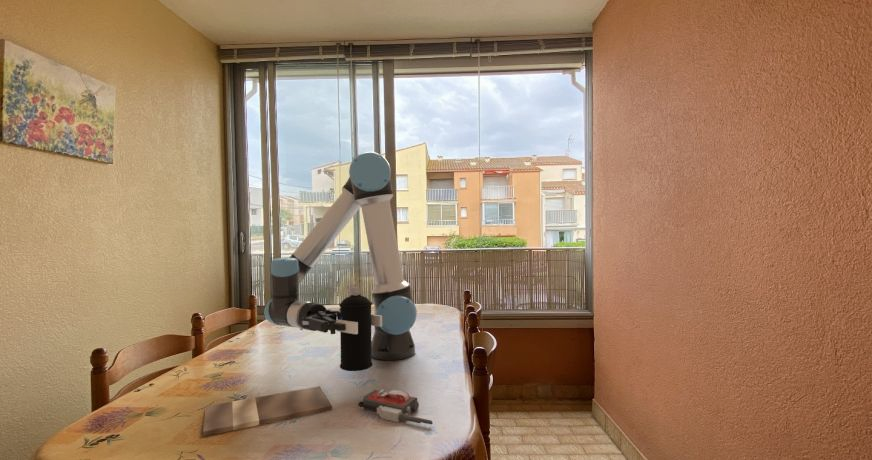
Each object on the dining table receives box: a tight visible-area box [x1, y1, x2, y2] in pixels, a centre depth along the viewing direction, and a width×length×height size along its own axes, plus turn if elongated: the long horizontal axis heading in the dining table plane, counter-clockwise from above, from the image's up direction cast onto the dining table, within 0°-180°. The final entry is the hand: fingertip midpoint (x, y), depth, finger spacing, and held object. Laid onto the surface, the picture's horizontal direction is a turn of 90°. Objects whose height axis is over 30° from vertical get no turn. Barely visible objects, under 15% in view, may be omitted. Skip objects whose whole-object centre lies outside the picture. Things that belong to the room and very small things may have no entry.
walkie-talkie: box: [357, 388, 433, 425], centre depth 95 cm, size 9×4×20 cm
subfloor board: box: [202, 385, 333, 437], centre depth 97 cm, size 26×14×1 cm, turn 117°
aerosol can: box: [339, 286, 373, 372], centre depth 106 cm, size 8×8×20 cm
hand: (369, 324), depth 104 cm, fingers closed on aerosol can, 8 cm apart
